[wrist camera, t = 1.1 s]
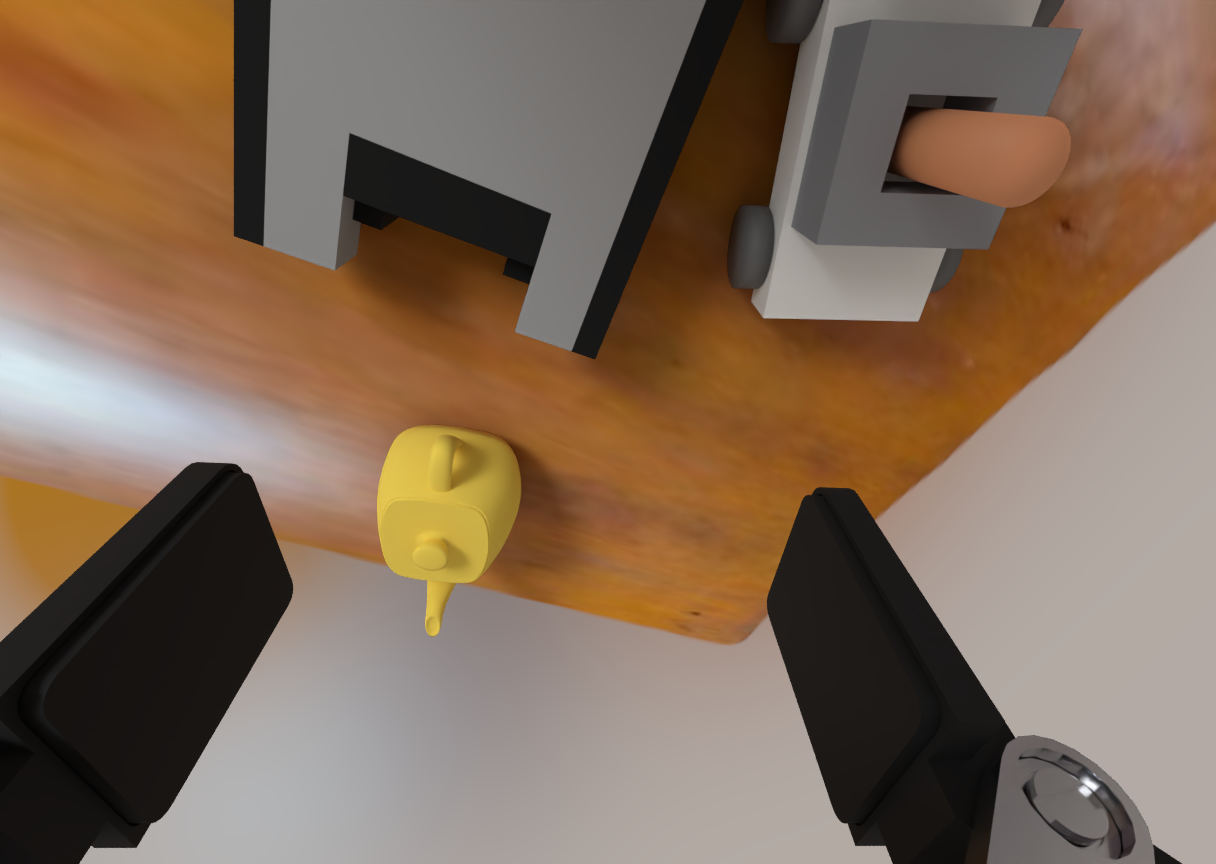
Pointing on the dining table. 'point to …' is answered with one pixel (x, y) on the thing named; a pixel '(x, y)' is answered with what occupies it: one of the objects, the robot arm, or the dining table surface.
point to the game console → (473, 132)
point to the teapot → (446, 507)
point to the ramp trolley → (883, 149)
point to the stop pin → (981, 153)
